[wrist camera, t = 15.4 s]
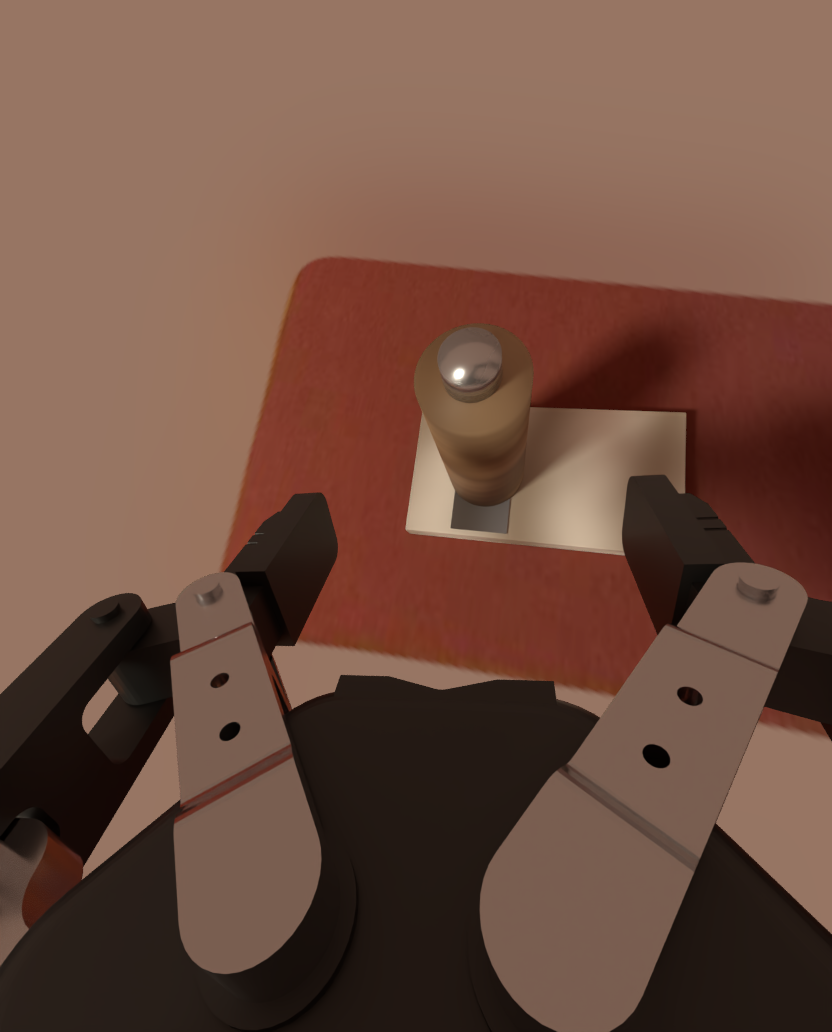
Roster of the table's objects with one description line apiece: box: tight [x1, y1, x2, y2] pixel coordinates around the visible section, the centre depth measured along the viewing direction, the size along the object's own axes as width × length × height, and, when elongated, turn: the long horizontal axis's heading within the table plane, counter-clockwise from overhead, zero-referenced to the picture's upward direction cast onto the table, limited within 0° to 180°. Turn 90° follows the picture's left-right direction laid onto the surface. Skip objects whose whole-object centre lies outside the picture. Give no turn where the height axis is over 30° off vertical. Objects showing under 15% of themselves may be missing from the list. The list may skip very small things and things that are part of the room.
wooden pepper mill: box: [414, 324, 534, 507], centre depth 19 cm, size 4×4×11 cm
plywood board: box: [406, 407, 686, 555], centre depth 25 cm, size 14×8×1 cm, turn 82°
